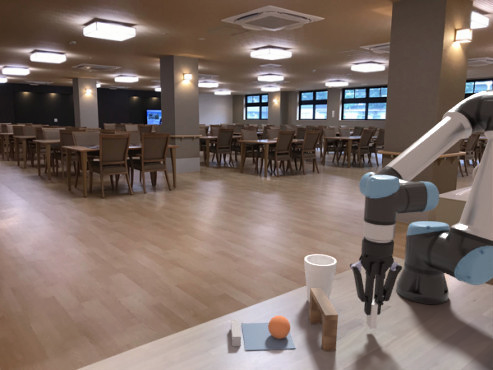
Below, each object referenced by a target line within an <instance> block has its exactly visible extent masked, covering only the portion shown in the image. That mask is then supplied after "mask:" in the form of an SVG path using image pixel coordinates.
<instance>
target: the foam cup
mask: <svg viewBox="0 0 493 370" xmlns="http://www.w3.org/2000/svg"><path fill="white" fill-rule="evenodd" d="M337 265H338V263H337V259H336V258H335V257H333V256H330V255H327V254H321V253H320V254H319V253H314V254H309V255H306V256H304V263H303V268H304V276H305V283H306V284H305V285H306V286H305V289H306V297H307V298H306V299H307V302H308V303H309V304H310V288H322V290H323V291H324V293H325V295H326V296H327V298H328V299H329V301H330V298H331V294H332V289H333V283H334V278H335V273H336V271H337Z"/></svg>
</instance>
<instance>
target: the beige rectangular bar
mask: <svg viewBox="0 0 493 370" xmlns="http://www.w3.org/2000/svg"><path fill="white" fill-rule="evenodd" d="M230 335H231V344H232V347H241V346H242V344H241V343H242V336H241V327H240V321H239V319H230Z"/></svg>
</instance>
